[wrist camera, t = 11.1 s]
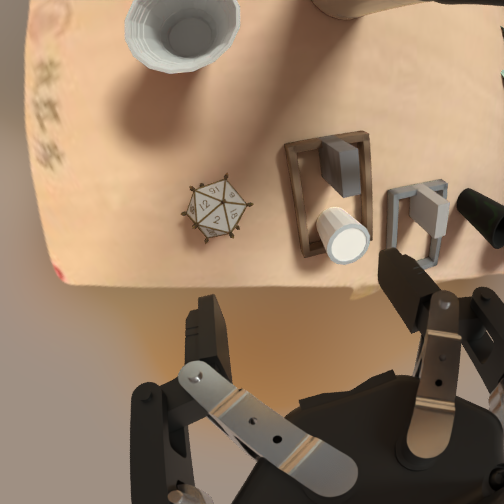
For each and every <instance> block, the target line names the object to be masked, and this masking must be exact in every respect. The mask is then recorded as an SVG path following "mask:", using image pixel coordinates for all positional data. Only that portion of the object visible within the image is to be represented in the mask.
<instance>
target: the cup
mask: <svg viewBox="0 0 504 504" xmlns="http://www.w3.org/2000/svg"><path fill="white" fill-rule="evenodd" d="M457 210H458V211H459V212H460V213H461V214H462V215H463V216H464V217H465V218H466V219H467V220H468V221H469V222H470V223H471V224H472V225H473V226H474V227H475V228H476V229H477V230H478V231H479V232H480V233H481V234H482V235H483V237H484V238H485V239H486V240H487V241H488V242H489V243H490V244H491V245H492V246H493V247H494V248H495V249H499V248H502V247H503V246H504V206H503V205H501V204H499V203H497V202H496V201H494V200H492V199H490V198H488V197H486V196H484V195H482V194H480V193H478V192H476V191H474V190H472V189H470V188H467V189H465V190H464V191H462V192H461V194H460V195H459V197H458V200H457Z"/></svg>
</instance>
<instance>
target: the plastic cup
mask: <svg viewBox="0 0 504 504" xmlns="http://www.w3.org/2000/svg"><path fill="white" fill-rule="evenodd" d="M239 28H240V6H239V4H238V2H237V0H134V1H133V3H132V5H131V7H130V9H129V12H128V14H127V16H126V19H125V41H126V43H127V45H128V47H129V49H130V51H131V53H132V55H133V57H135V58H136V59H137V60H139V61H140V62H141V63H143V64H144V65H145V66H146V67H148V68H149V69H153V70H157V71H161V72H165V73H169V74H174V73H183V72H193V71H195V70H197V69H200V68H202V67H204V66H206V65H208V64H211V63H213V62H215V61H216V60H217V59H218V58H219V57H220V56H221V55H222V54H223V53H224V52H225V51H226V50H227V49H228V48H230V47H231V45H232V43H233V41H234V39H235V36H236V34H237V32H238V30H239Z"/></svg>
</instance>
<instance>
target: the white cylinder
mask: <svg viewBox="0 0 504 504" xmlns="http://www.w3.org/2000/svg"><path fill="white" fill-rule="evenodd" d="M316 227H317V231H318V233H319V236H320V238H321V240H322V243H323V245H324V247H325V250H326V252H327V254H328V256H329V257H330V259H331V261H333V262H335V263H337V264H343V265H346V264H350V263H353V262H355V261H357V260H358V259H360V258H361V257H362V256H363V255H364V254H365V252H366V251H367V249H368V246H369V244H370V235H369V232H368V230H367V229H366V228H365V227H364V226H363V225H362V224H360V223H359V222H358V221H357V220H356V219H354V218H353V217H352V216H351V215H350V214H348V213H347V212H346V211H345V210H343V209H342V208H340V207H331V208H328V209H326V210H324V211H323V212H322V213H321V214H320V215H319V217H318V219H317V222H316Z"/></svg>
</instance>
